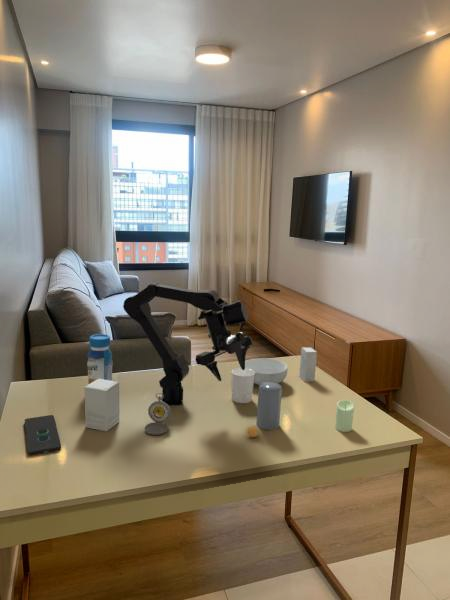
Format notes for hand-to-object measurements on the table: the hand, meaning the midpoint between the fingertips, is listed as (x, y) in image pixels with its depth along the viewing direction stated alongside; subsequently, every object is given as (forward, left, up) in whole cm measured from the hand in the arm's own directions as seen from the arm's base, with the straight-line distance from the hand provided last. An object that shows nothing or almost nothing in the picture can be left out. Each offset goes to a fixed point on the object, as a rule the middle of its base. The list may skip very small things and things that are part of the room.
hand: (232, 375), depth 144 cm
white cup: (+5, +8, -12) cm, 16 cm away
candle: (+32, -15, -12) cm, 38 cm away
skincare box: (+35, +26, -12) cm, 46 cm away
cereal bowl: (+17, +23, -12) cm, 32 cm away
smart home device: (-55, -12, -13) cm, 58 cm away
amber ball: (+3, -18, -12) cm, 22 cm away
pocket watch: (-24, -11, -12) cm, 29 cm away
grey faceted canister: (+10, -11, -12) cm, 19 cm away
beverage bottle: (-43, +17, -12) cm, 48 cm away
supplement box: (-40, -7, -12) cm, 42 cm away
